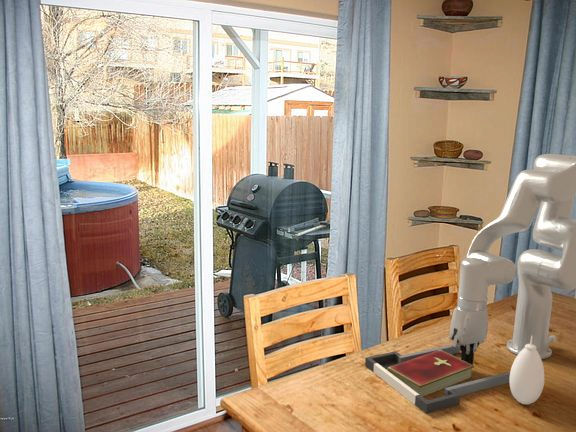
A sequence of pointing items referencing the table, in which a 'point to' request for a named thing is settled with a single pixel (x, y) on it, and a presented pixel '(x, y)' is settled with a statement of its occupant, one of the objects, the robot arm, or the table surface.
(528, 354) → the rubber air blower
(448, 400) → the grey u-shaped frame
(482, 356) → the table surface
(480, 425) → the table surface
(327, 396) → the table surface
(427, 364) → the hardcover book
